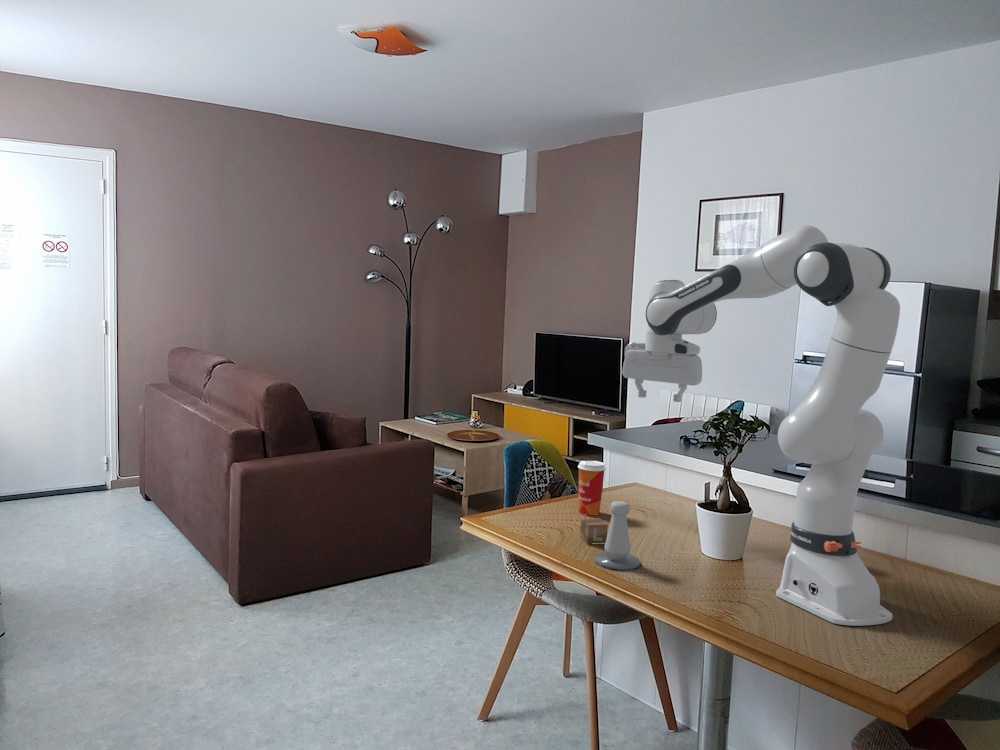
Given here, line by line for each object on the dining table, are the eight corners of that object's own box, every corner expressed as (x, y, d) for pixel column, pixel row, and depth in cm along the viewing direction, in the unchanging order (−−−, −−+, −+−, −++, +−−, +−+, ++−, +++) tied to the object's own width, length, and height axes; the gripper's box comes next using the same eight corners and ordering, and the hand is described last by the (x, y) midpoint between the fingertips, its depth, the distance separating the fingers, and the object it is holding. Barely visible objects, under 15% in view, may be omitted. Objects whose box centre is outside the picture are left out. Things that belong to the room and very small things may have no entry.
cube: (606, 544, 184) (608, 524, 184) (587, 545, 183) (588, 525, 183) (598, 537, 189) (599, 518, 189) (579, 538, 188) (580, 518, 188)
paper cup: (571, 508, 214) (574, 459, 212) (598, 508, 215) (601, 459, 214) (579, 517, 206) (582, 466, 205) (606, 516, 208) (610, 466, 206)
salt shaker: (629, 555, 174) (633, 500, 173) (630, 564, 169) (634, 506, 167) (603, 553, 175) (607, 497, 174) (603, 561, 170) (607, 504, 168)
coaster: (647, 569, 169) (647, 565, 168) (605, 571, 166) (605, 568, 166) (627, 553, 178) (627, 550, 178) (587, 556, 175) (588, 552, 175)
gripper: (620, 342, 195) (616, 395, 197) (697, 348, 184) (693, 405, 186) (630, 341, 201) (627, 393, 202) (706, 347, 189) (702, 403, 191)
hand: (659, 399), depth 194 cm, fingers open, 8 cm apart
